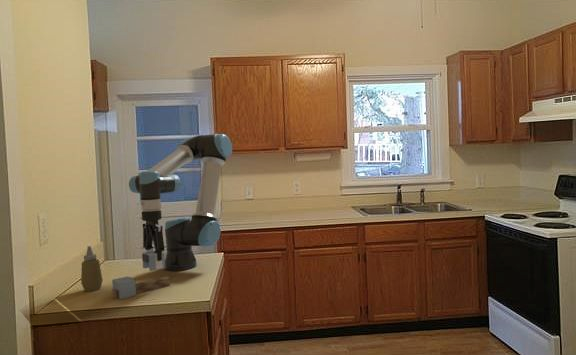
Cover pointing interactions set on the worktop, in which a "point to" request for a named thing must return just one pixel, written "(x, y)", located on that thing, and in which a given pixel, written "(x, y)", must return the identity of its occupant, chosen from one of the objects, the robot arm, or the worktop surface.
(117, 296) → the rail
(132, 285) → the slider block
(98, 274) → the squeeze bottle
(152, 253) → the grey cube block
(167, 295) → the worktop surface
